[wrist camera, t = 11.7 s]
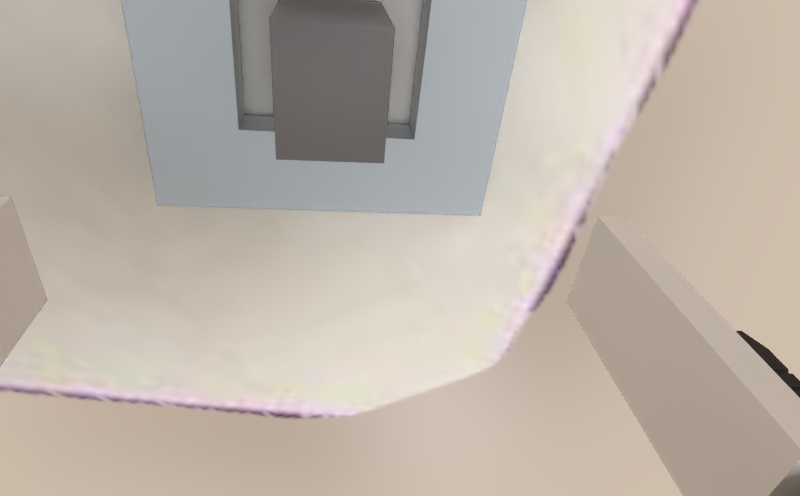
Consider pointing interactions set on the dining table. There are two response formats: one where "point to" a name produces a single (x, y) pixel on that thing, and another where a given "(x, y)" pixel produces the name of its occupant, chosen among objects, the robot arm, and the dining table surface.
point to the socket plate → (320, 180)
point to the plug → (331, 79)
